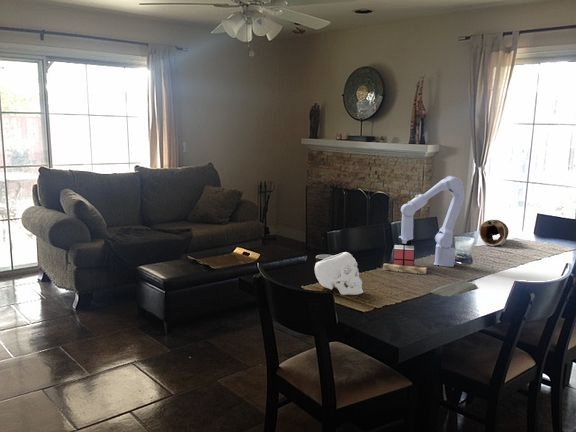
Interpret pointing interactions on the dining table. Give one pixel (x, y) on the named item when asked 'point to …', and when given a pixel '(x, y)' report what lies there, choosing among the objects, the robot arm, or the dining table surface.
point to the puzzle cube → (403, 255)
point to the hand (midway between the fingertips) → (406, 254)
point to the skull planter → (339, 274)
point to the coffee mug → (322, 257)
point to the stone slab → (454, 288)
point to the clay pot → (493, 232)
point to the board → (404, 268)
